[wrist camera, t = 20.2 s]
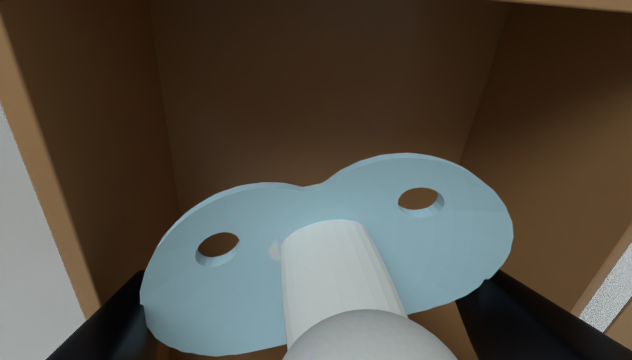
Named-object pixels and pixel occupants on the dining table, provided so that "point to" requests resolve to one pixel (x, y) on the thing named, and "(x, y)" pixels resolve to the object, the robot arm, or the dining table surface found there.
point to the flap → (622, 326)
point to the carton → (322, 122)
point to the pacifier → (328, 263)
